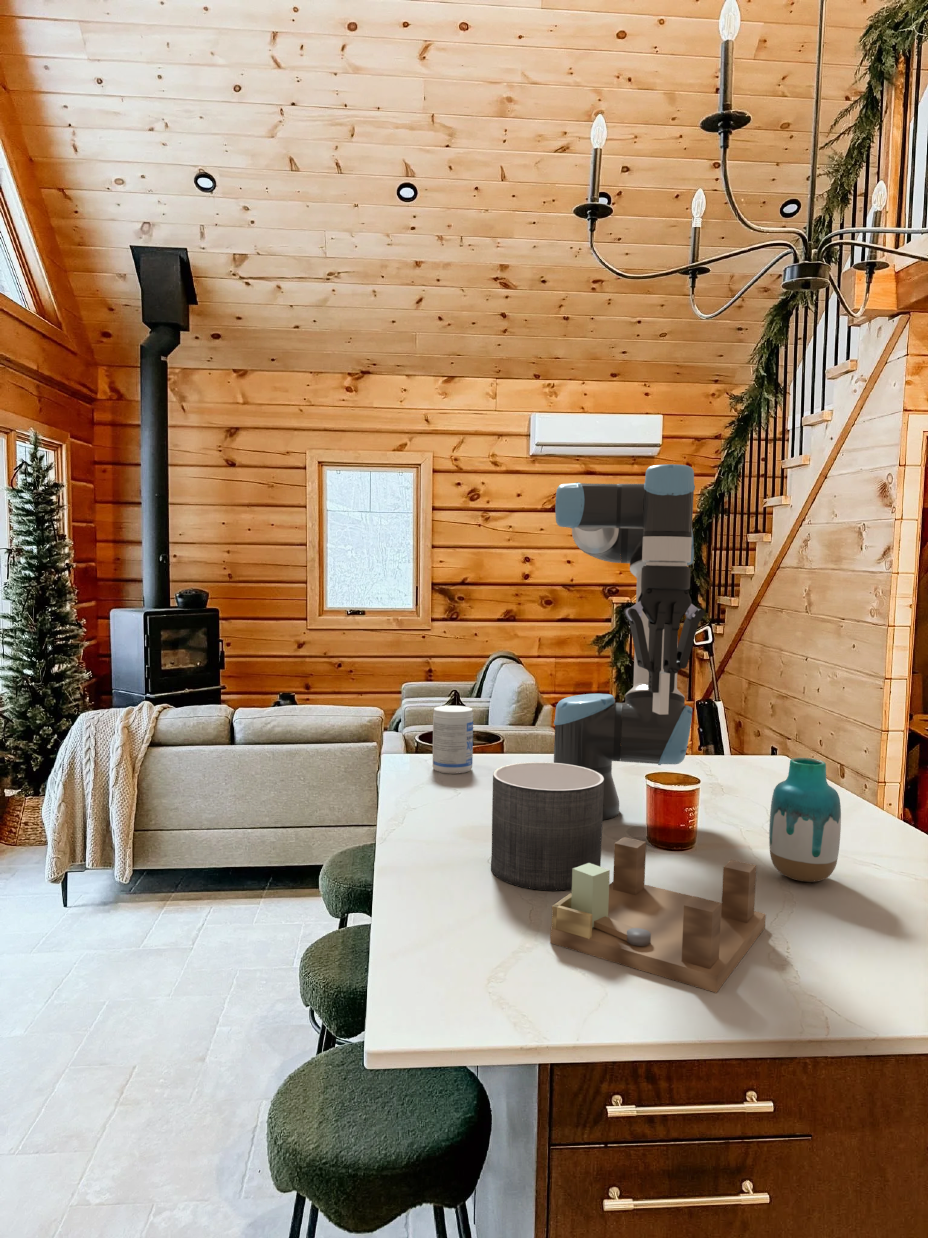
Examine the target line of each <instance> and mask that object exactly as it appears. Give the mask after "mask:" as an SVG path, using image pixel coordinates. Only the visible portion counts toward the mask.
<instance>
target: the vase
mask: <svg viewBox="0 0 928 1238" xmlns="http://www.w3.org/2000/svg"><path fill="white" fill-rule="evenodd" d="M787 774H788V775H787V778H786V779H785V780H783V781H781V782H778V783H777V784H776V786H775V787H774V789H773V792H772V797H771V804H770V810H769V811H770V812H769V813H770V814H769V824H768V825H769V826H768V827H769V829H768V833H769V834H768V836H769V837H768V845H769V855H770V859H771V863H772V865H773V866H774V867H775V869H776V870H777V872H779V873H780V874H781V875H783V876H785V877H787V878H789V879H792V880H796V881H799V882H807V883H811V882H812V883H813V882H820V881H823V880H826V879H828V878H829V877H830V876H831V875H832V874H833V873H834V871H835V869H836V866H837V864H838V858H839V851H840V842H841V831H842V830H841V827H842V824H841V823H842V812H841V811H842V810H841V807H842V806H841V798H840V795H839V793H838V791H837V790H836V789H835V788H834V787H832V786H830V785H829V784H828V781H827V763H826V762H825V761H823V760H821V759H816V758H809V757H793V758H791V759H790V760H789V768H788V773H787Z"/></svg>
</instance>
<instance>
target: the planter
mask: <svg viewBox="0 0 928 1238" xmlns="http://www.w3.org/2000/svg"><path fill="white" fill-rule="evenodd" d="M603 794H604V777H603V776H602V775H601V774H600V773H598V772H596V771H594V770H591V769H588V768H584V767H580V766H575V765H569V764H562V763H554V762H549V761H547V762H546V761H541V762H540V761H539V762H538V761H534V762H531V761H530V762H520V763H519V762H517V763H511V764H507V765H503V766H501V767H498V768H497V769H495V770H494V771H493V772H492V805H491V806H492V809H491V815H492V816H491V857H490V858H491V859H490V870H491V872H492V874H493V875H495V877H497V878H498V879H500V880H502V881H504V882H506V883H508V884H509V885H510V884H511V885H514V886H517V887H521V888H525V889H529V890H538V891H568V890H572V869H573V868H576V867H579V866H581V865H584V864H587V863H591V864H594V865H597V866H600V867H602V866H601V859H602V838H603V836H602V835H603V820H602V818H603Z"/></svg>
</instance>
